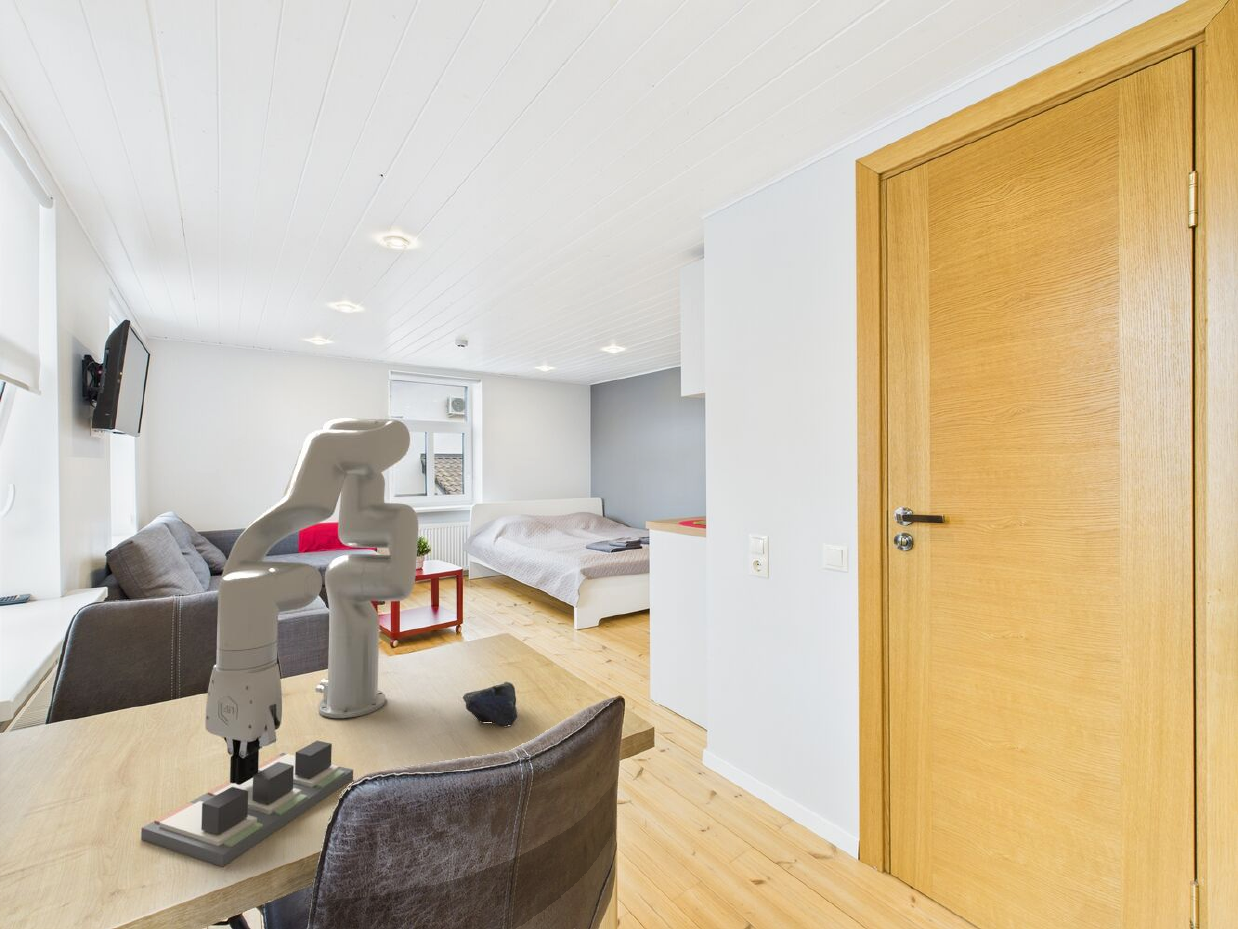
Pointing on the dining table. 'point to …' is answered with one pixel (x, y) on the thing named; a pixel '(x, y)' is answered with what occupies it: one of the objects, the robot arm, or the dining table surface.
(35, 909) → the dining table surface
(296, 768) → the block
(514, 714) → the rock
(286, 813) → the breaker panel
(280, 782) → the block
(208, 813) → the block
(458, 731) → the dining table surface
